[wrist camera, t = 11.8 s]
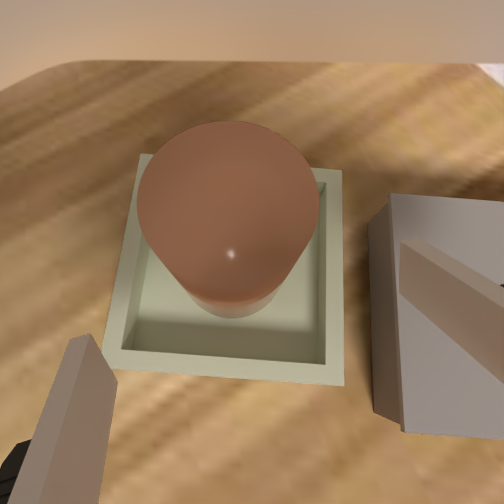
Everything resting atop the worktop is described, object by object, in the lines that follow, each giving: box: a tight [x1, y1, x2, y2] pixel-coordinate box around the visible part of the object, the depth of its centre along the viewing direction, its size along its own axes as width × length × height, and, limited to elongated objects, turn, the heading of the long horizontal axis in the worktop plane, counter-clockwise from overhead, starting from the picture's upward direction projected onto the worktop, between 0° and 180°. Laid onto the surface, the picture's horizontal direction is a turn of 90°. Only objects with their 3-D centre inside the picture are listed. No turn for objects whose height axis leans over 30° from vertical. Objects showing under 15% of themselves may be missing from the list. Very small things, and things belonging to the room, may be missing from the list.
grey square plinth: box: [368, 193, 504, 440], centre depth 19 cm, size 14×12×4 cm
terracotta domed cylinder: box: [137, 121, 320, 319], centre depth 16 cm, size 6×6×10 cm
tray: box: [101, 154, 344, 386], centre depth 20 cm, size 13×13×2 cm
